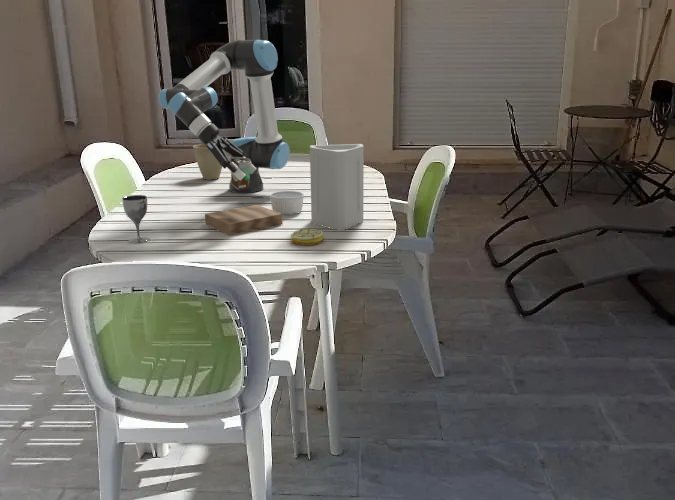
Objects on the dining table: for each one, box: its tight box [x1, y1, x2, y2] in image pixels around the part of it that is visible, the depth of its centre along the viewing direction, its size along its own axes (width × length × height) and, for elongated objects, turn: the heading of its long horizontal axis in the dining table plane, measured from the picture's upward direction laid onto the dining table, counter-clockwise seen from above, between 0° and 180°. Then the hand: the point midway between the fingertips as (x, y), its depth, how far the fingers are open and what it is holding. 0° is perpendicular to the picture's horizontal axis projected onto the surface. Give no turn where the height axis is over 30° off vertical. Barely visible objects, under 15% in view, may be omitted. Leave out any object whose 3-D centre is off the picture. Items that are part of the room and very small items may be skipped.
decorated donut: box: [290, 228, 324, 246], centre depth 226 cm, size 10×11×4 cm
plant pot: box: [192, 143, 223, 181], centre depth 324 cm, size 15×15×16 cm
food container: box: [229, 156, 252, 190], centre depth 243 cm, size 12×6×10 cm, turn 24°
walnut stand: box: [204, 204, 284, 236], centre depth 247 cm, size 22×18×4 cm
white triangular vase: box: [309, 143, 365, 231], centre depth 242 cm, size 19×15×28 cm
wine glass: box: [121, 194, 150, 245], centre depth 227 cm, size 8×8×15 cm
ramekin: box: [269, 190, 305, 215], centre depth 264 cm, size 13×13×7 cm
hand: (248, 174), depth 241 cm, fingers closed on food container, 11 cm apart
